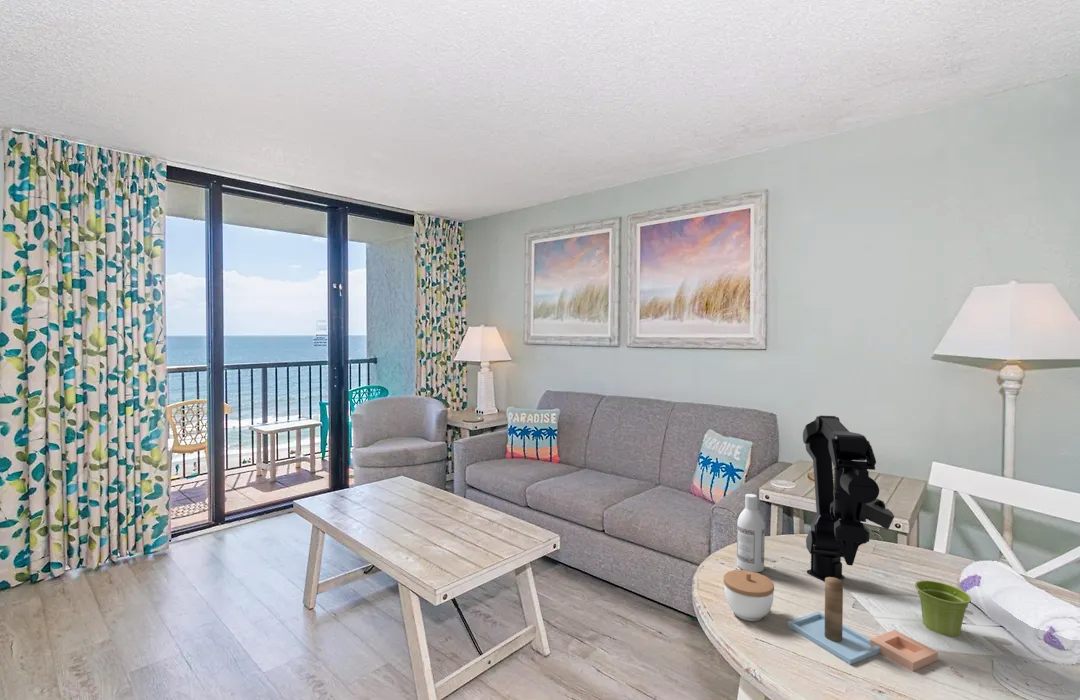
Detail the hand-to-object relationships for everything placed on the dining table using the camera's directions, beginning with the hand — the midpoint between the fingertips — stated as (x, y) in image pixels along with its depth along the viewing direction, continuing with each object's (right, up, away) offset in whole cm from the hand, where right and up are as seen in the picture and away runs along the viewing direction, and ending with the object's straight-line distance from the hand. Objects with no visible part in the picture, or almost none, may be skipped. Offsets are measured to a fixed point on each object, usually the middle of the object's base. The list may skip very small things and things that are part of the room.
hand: (847, 556), depth 115 cm
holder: (+2, -13, -15) cm, 20 cm away
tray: (-9, -13, -10) cm, 19 cm away
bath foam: (-13, -13, +23) cm, 29 cm away
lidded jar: (-23, -13, 0) cm, 26 cm away
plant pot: (+16, -13, -7) cm, 22 cm away
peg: (-9, -13, -10) cm, 19 cm away
